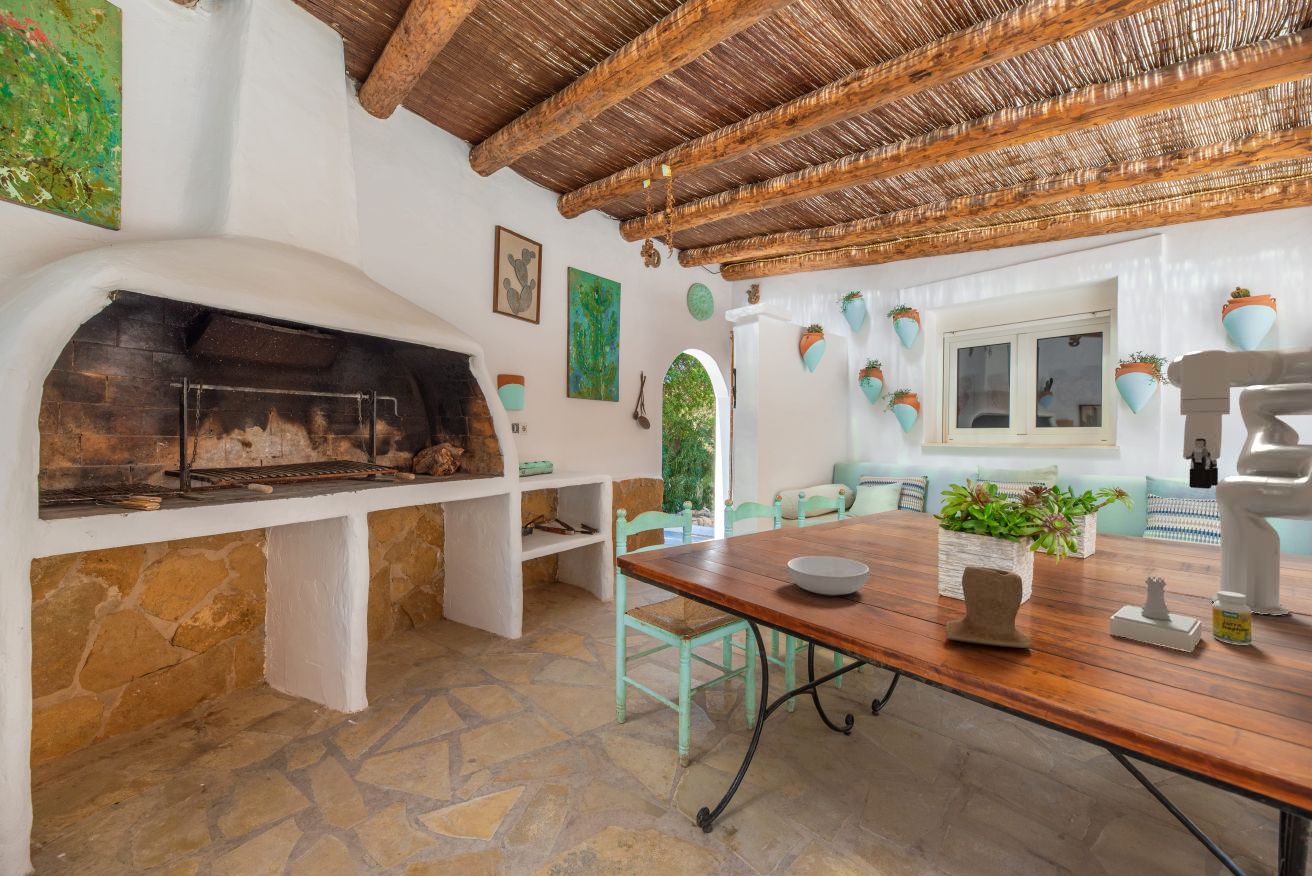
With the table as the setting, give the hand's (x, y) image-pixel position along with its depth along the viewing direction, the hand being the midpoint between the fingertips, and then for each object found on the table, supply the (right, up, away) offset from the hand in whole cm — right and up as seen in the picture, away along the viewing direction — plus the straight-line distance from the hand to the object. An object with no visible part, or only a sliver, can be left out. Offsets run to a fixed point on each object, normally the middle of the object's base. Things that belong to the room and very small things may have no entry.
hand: (1203, 486), depth 116 cm
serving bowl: (-74, -31, +27) cm, 84 cm away
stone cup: (-53, -31, -8) cm, 62 cm away
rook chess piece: (-16, -27, -6) cm, 32 cm away
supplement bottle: (-3, -31, -9) cm, 32 cm away
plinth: (-16, -30, -6) cm, 35 cm away
